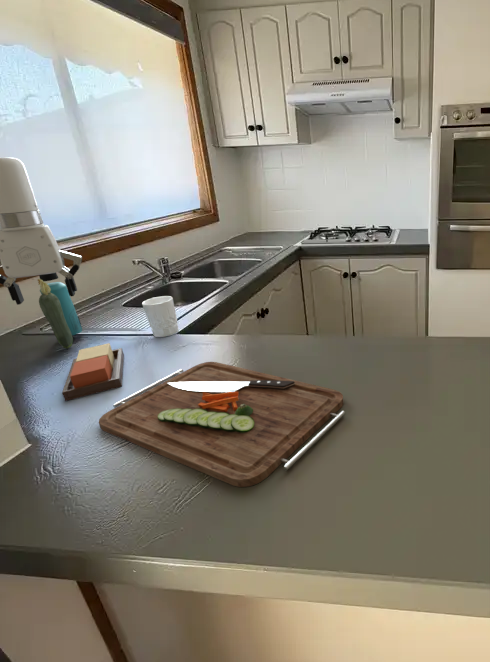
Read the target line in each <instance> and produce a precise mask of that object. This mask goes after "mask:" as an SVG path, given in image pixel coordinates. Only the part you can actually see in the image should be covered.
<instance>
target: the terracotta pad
mask: <svg viewBox="0 0 490 662" xmlns="http://www.w3.org/2000/svg"><path fill="white" fill-rule="evenodd" d="M111 375H112V368H111V365H110V362H109V359H108V356H107V355H105V356H101V357H97V358H93V359H88V360H84V361H80V362H75V363H74V366H73V369H72V372H71V375H70V378H71V381H72V383H73V386H74V388H78V387H82V386H86V385H89V384H93V383H97V382H101V381H105V380H109V379H111Z"/></svg>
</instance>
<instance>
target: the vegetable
mask: <svg viewBox="0 0 490 662" xmlns="http://www.w3.org/2000/svg"><path fill="white" fill-rule="evenodd" d="M37 283H38V285H39V291H40V290H41V292H42V293H43V294H42V295H41V294H40V296H39V298H38V304H39V307H40V310H41V312H42V314H43V315H44V317H45V319H46V320H47V322H48V323H49V326H50V328H51V330H52V332H53V334H54V337H55V339H56V341H57V342H58V344H59V345H60V346H61V347H62V348H63V349H67V350H68V349H69V348H71V347H72V346H73V343H74V337H73V335H72V334H71V331H70V329H69V327H68V325H67V323H66V320H65V318H64V314H63V311H62V308H61V304H60V301H59V299H58V298H57V297H56V296H55V295H54V294H52V293H50V291H51V289H50V287H49V285H48V283H47V282H46V281H43V280H41V279H40V278H37ZM41 292H40V293H41Z"/></svg>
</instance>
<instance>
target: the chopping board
mask: <svg viewBox="0 0 490 662" xmlns="http://www.w3.org/2000/svg"><path fill="white" fill-rule="evenodd" d="M343 406H344V395H343V393H342V392H341V391H339V390H337V389H333V388H329V387H325V386H322V385H321V386H320V385H316V384H312V383H307V382H303V381H299V380H294V379H290V378H286V377H282V376H277V375H273V374H269V373H265V372H260V371H256V370H251V369H248V368H244V367H239V366H235V365H230V364H226V363H223V362H218V361H206V362H201V363H199V364H196V365H194V366H191V367H189V368H188V369H186V370H184V369H183V368H180V369H179V370H177V371H175V372H173V373H171V374H169V375H167V376H165V377H163V378H162V379H159V380H157V381H155V382H153V383H151V384H150V385H148V386H146V387H144V388H142V389H140V390H137V391H136V392H134V393H132V394H130V395H129V396H126V397H125V398H122V399H120V400H119V401H117V402H115V403H113V404H112V407H113V408H112V409H109V410H108V411H107V412H105V413H103V414H102V416H100V418H99V419H98V424H99V427H100V429H101V430H102V431H103V432H105V433H107V434H110V435H112V436H115V437H117V438H119V439H122V440H124V441H127V442H129V443H131V444H133V445H136V446H138V447H140V448H143V449H146V450H148V451H150V452H153V453H155V454H157V455H160V456H162V457H164V458H167V459H169V460H171V461H174V462H177V463H178V464H181V465H184V466H186V467H188V468H191V469H193V470H195V471H197V472H200V473H203V474H205V475H207V476H210V477H212V478H214V479H217V480H219V481H222V482H224V483H226V484H229V485H231V486H233V487H238V488H246V487H252V486H255V485H257V484H259V483H261V482H263V481H264V480H265V479H267V478H268V477H269V476H270V475H271V474H273V472H274V471H276V470H277V468H279V467H280V466H281V465H282V464H283V463H284V465H283V470H284V471H288V470H289V469H290V468H291V467H292V466H293V465H294V464H295V463H297V462H298V461H299V460H300V458H302V456H303V455H305V454H306V453H307V452H308V451H309V450H310V449H311V448H312V447H313V446H314V445H315V444H316V443H317V442H318V441H319V440H320V439H321V438H323V436H324V435H325V434H326V433H327V432H328V431H330V430H331V428H333V426H334V425H336V423H338V421H340V420H341V419H342V418H343V416H344V415H346V412H345V410H341V411H340V409H342V408H343ZM338 411H340V412H339V413H338ZM337 413H338V414H337ZM332 417H333V418H332ZM331 418H332V420H331V421H330V422H329V423H328V424H327V425H325V427H323V428H322V426H324V424H326V423H327V422H328V421H329V420H330V419H331ZM321 428H322V429H321ZM319 429H321V430H320V431H319V432H318V433H317V434H316V435H315V436H314V437H312V436H313V435H314V434H315V433H316V432H317V431H318V430H319ZM311 437H312V439H310V440H309V442H307V443H306V444H305V442H306V441H307V440H308V439H309V438H311ZM303 444H305V445H304V447H302V448H301V449H300V450H299V451H297V450H298V449H299V448H300V447H301V446H302V445H303ZM296 451H297V453H296V454H295V455H294V456H293V457H292V458H291V459H290V460H289V458H290V456H291V455H292V454H293V453H295V452H296Z"/></svg>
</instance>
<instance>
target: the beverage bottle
mask: <svg viewBox="0 0 490 662" xmlns="http://www.w3.org/2000/svg"><path fill="white" fill-rule="evenodd" d="M38 276H39V279H41V280H43V282H48V283H47V284H48V285H49V287H50V289H51V291H50V293H52V294H54V295H55V296H56V297H57V298H58V299H59V301H60V304H61V308H62V311H63V314H64V318H65V320H66V323H67V325H68V327H69V329H70V331H71V334H72V336H76V335H78V334H80V333H82V332H83V326H82V323H81V320H80V318H79V315H78V312H77V309H76V308H75V304H74V302H73V300H72V298H71V296H70V295H69V293H68V289H67V286H66V283H63V282H61V281H55V280H58V279H59V275H58V274H57V272H56V273H50V274H43V275H38ZM50 281H55V282H50ZM39 293H40V296H41V295H42V294H43V293H42V292H41V290H40V289H39Z"/></svg>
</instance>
